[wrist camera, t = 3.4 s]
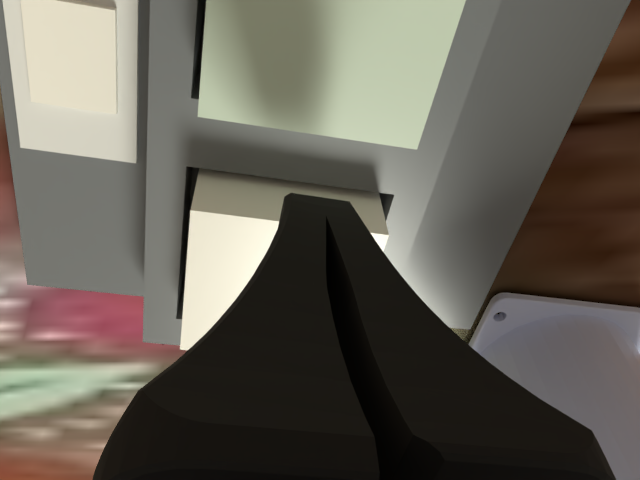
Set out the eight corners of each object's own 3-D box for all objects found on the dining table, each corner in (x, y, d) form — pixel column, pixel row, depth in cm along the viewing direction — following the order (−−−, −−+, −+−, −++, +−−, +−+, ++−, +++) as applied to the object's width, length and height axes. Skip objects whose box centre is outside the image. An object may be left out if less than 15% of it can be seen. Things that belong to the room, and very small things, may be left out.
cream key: (341, 317, 20) (346, 364, 18) (188, 302, 19) (179, 349, 17) (378, 192, 17) (388, 234, 15) (199, 167, 16) (190, 210, 14)
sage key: (402, 111, 15) (416, 149, 14) (206, 80, 15) (197, 116, 13) (468, -108, 12) (495, -92, 11) (226, -162, 12) (217, -153, 10)
